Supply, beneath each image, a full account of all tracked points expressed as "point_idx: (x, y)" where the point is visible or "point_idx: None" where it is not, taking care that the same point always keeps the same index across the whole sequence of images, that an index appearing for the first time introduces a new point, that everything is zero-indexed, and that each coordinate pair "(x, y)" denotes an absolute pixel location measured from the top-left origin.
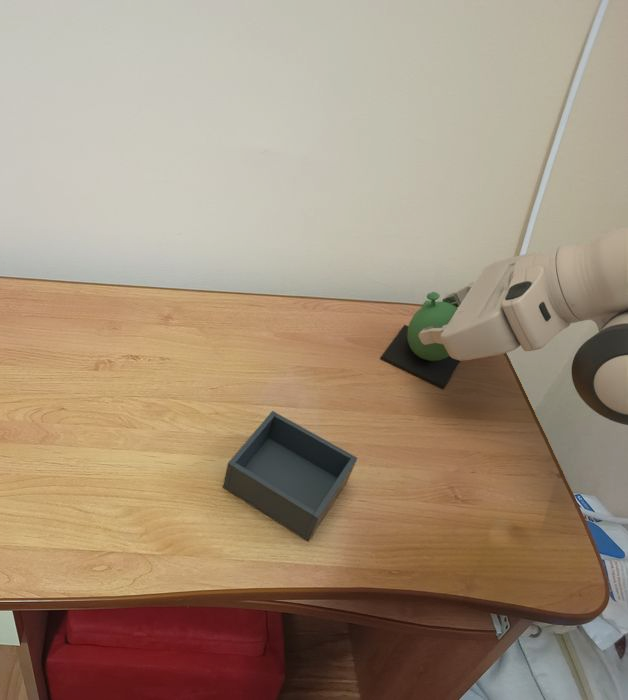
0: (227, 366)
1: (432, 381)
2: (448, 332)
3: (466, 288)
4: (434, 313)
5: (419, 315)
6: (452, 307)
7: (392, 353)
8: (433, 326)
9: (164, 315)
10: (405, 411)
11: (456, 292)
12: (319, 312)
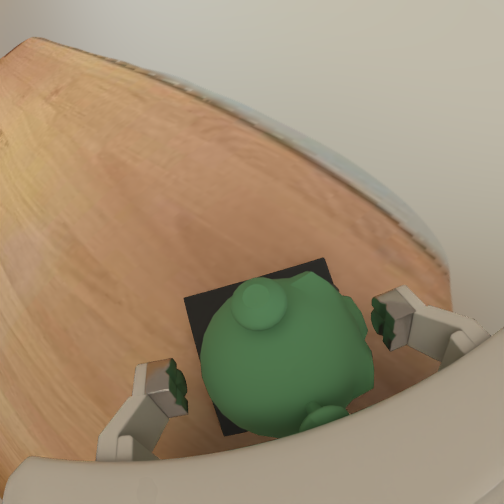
0: (21, 179)
1: (216, 412)
2: (11, 479)
3: (447, 328)
4: (232, 352)
5: (227, 307)
6: (313, 378)
7: (212, 307)
8: (164, 392)
9: (57, 88)
10: (113, 413)
11: (417, 313)
12: (204, 142)
